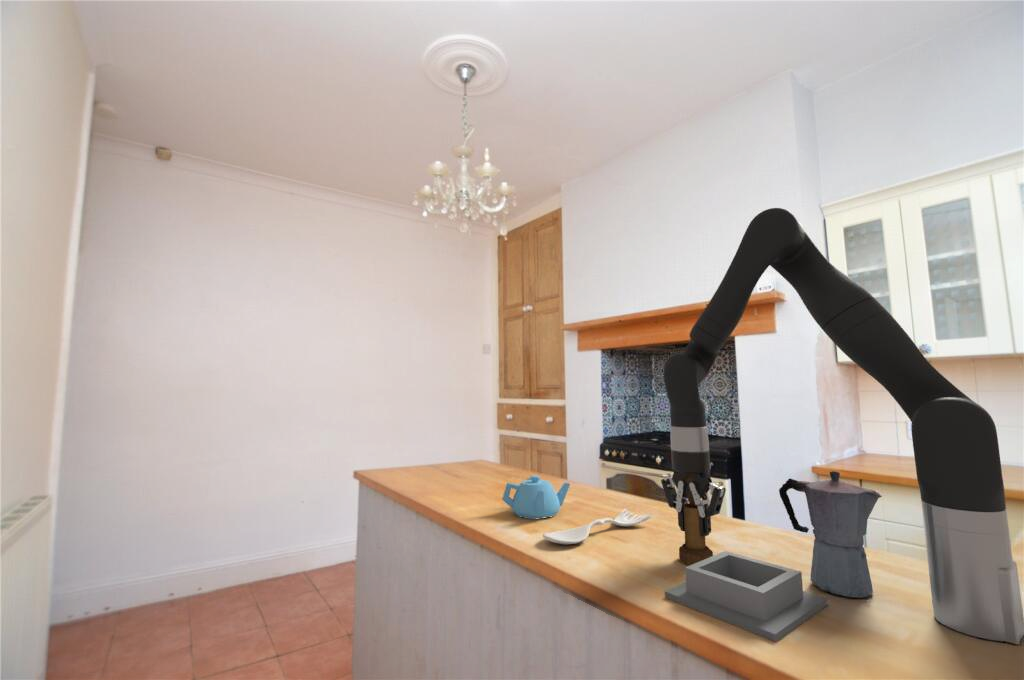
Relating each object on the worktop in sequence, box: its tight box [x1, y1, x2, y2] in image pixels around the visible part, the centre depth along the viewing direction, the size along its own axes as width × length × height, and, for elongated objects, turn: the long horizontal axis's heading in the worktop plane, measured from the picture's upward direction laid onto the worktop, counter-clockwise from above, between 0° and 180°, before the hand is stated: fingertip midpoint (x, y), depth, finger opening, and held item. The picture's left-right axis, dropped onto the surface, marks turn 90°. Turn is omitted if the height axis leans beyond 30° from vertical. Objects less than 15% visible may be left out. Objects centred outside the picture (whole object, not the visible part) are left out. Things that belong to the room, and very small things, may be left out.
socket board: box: [664, 550, 828, 642], centre depth 78 cm, size 18×18×5 cm
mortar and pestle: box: [678, 474, 714, 566], centre depth 96 cm, size 7×6×18 cm
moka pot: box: [778, 470, 883, 599], centre depth 83 cm, size 10×15×20 cm, turn 55°
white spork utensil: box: [542, 508, 652, 546], centre depth 115 cm, size 9×32×4 cm, turn 126°
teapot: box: [502, 474, 571, 518], centre depth 135 cm, size 15×15×11 cm
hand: (694, 532), depth 96 cm, fingers closed on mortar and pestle, 4 cm apart
